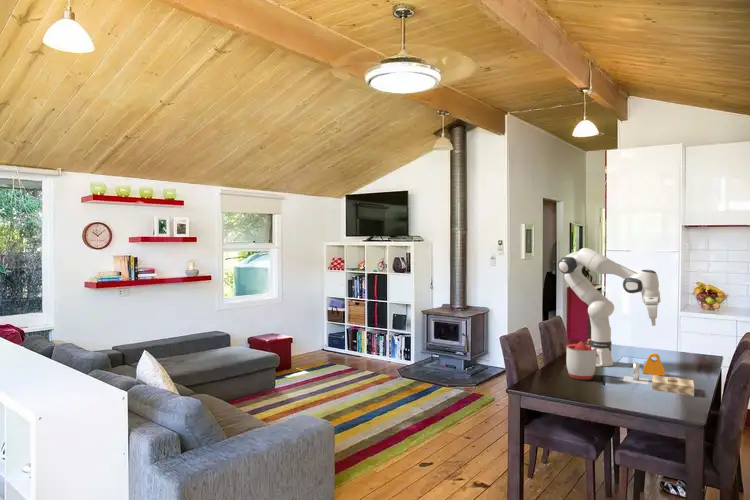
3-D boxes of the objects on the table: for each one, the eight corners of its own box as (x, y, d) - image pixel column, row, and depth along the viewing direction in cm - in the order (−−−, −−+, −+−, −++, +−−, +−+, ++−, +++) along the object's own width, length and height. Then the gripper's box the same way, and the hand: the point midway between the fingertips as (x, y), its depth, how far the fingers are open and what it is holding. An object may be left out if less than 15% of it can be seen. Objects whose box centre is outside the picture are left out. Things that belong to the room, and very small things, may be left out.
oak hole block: (652, 390, 257) (652, 381, 257) (652, 383, 269) (652, 375, 269) (694, 396, 248) (694, 387, 248) (692, 389, 260) (693, 380, 260)
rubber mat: (622, 381, 273) (622, 381, 273) (624, 376, 283) (624, 375, 283) (648, 385, 267) (648, 384, 267) (649, 379, 277) (649, 378, 277)
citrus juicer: (604, 381, 274) (605, 344, 274) (573, 381, 273) (574, 344, 272) (590, 373, 290) (591, 338, 289) (560, 373, 288) (561, 338, 288)
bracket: (665, 374, 289) (665, 353, 289) (664, 377, 283) (665, 355, 282) (643, 371, 294) (644, 351, 294) (642, 374, 288) (643, 353, 288)
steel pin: (632, 380, 275) (633, 363, 274) (633, 378, 277) (633, 362, 277) (639, 381, 273) (639, 364, 273) (639, 379, 276) (639, 363, 276)
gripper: (644, 296, 292) (647, 320, 292) (644, 302, 274) (647, 327, 274) (657, 296, 289) (659, 320, 289) (658, 301, 271) (660, 327, 271)
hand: (653, 323), depth 282 cm, fingers open, 8 cm apart
